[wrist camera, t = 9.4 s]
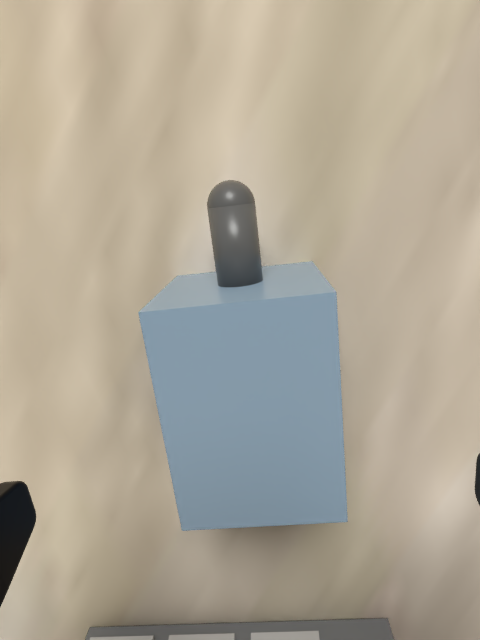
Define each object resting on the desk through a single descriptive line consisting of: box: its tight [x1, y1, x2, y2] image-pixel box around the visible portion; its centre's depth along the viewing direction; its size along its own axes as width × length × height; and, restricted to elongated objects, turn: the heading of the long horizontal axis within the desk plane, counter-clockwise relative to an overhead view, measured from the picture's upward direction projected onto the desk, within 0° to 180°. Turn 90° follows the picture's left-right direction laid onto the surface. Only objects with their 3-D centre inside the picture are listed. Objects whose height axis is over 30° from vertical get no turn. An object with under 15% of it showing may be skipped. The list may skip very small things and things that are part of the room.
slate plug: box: [138, 180, 348, 531], centre depth 13 cm, size 12×5×5 cm, turn 7°
